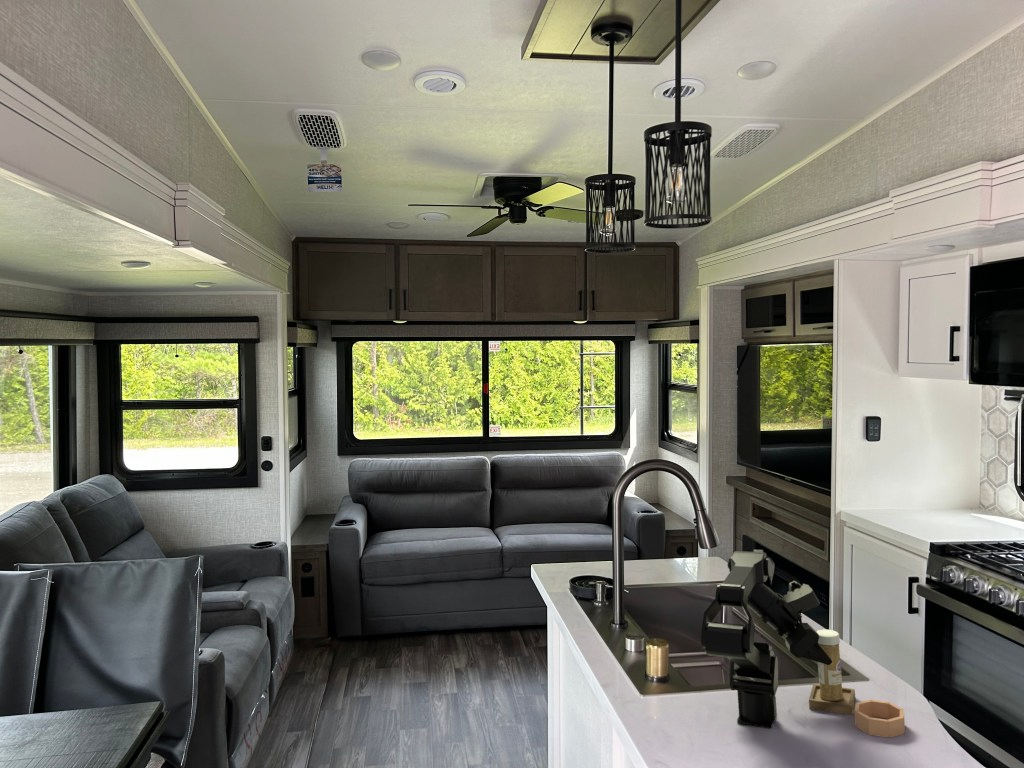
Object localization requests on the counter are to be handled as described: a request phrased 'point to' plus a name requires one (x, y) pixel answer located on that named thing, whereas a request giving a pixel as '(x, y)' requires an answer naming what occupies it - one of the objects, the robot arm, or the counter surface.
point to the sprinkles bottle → (830, 666)
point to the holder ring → (876, 725)
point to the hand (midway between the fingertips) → (823, 653)
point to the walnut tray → (832, 706)
